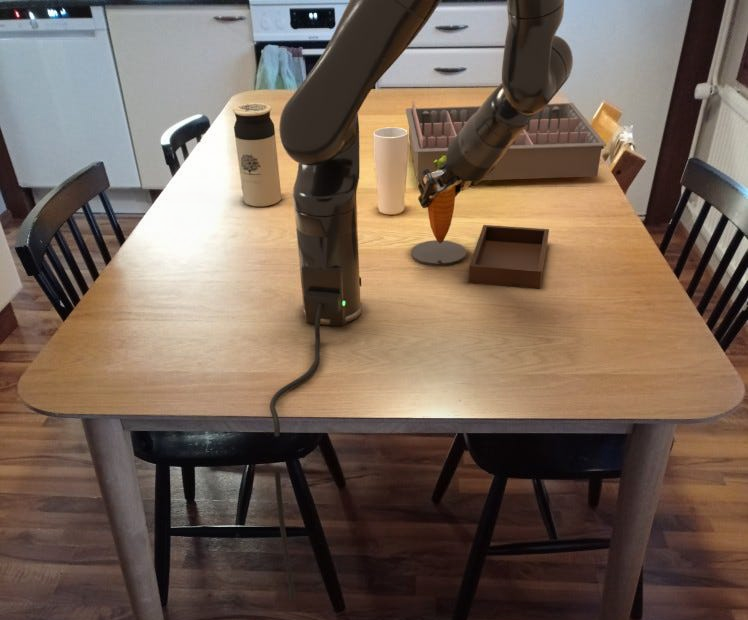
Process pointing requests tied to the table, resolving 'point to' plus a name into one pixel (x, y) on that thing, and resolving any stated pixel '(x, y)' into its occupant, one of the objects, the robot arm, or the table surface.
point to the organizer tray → (526, 154)
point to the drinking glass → (390, 168)
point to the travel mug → (257, 154)
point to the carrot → (441, 209)
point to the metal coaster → (438, 253)
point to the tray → (509, 256)
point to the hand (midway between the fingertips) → (435, 199)
